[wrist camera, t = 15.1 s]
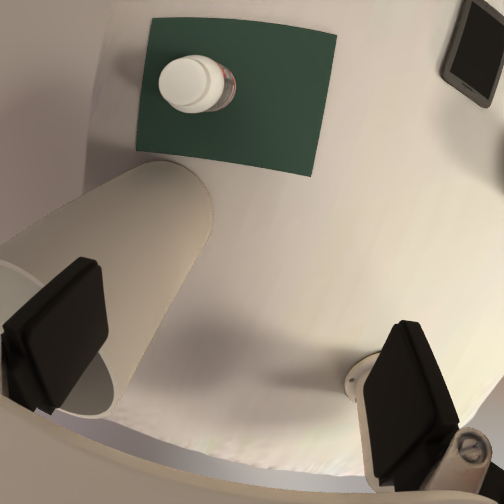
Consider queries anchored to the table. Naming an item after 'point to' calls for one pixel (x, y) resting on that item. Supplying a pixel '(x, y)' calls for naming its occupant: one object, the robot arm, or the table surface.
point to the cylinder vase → (115, 265)
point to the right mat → (241, 93)
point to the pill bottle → (197, 84)
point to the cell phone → (476, 52)
